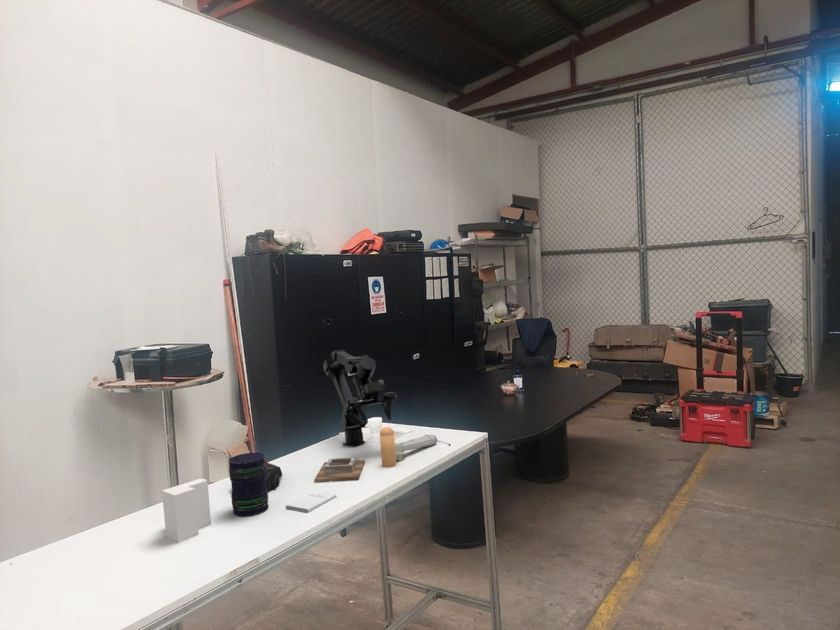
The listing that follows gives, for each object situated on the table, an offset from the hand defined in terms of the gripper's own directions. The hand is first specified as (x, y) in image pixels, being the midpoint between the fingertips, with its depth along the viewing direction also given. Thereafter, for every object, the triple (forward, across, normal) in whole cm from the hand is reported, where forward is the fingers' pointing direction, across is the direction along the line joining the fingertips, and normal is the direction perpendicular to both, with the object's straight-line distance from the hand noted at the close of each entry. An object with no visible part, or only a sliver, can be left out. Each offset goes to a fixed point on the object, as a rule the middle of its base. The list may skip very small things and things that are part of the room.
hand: (378, 422), depth 204 cm
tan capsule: (+15, -1, +3) cm, 15 cm away
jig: (+13, -17, +6) cm, 22 cm away
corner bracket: (+26, -66, -8) cm, 72 cm away
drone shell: (+9, -42, +11) cm, 44 cm away
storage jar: (+24, -49, -6) cm, 55 cm away
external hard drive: (+28, -33, -9) cm, 44 cm away
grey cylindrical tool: (+10, +12, +9) cm, 18 cm away
